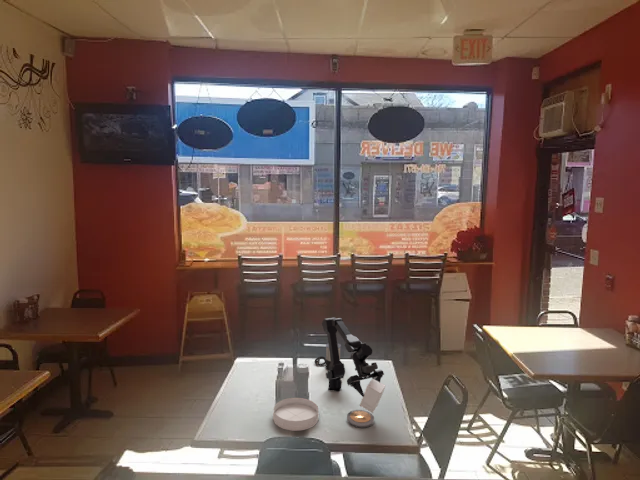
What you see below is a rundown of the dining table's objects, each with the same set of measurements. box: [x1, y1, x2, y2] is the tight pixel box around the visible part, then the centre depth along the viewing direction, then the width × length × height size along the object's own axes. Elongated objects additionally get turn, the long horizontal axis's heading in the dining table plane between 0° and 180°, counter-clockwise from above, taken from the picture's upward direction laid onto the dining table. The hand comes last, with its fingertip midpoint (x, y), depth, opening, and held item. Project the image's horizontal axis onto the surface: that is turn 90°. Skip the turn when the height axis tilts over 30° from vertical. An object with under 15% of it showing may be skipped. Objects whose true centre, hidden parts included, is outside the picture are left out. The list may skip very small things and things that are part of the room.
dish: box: [272, 397, 320, 432], centre depth 223 cm, size 22×22×5 cm
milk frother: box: [314, 342, 342, 372], centre depth 281 cm, size 14×16×15 cm
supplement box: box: [359, 378, 386, 414], centre depth 222 cm, size 7×7×13 cm
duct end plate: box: [346, 409, 375, 429], centre depth 223 cm, size 13×13×2 cm
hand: (371, 394), depth 222 cm, fingers closed on supplement box, 9 cm apart
